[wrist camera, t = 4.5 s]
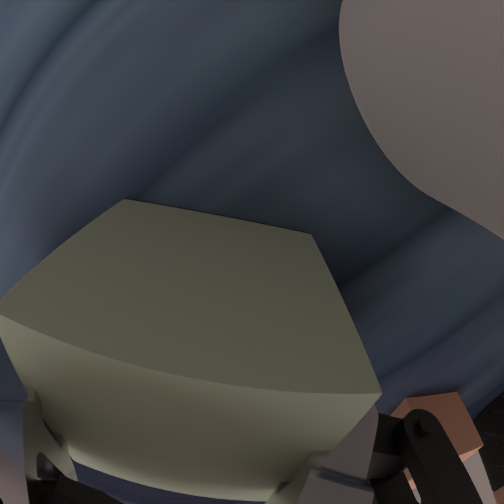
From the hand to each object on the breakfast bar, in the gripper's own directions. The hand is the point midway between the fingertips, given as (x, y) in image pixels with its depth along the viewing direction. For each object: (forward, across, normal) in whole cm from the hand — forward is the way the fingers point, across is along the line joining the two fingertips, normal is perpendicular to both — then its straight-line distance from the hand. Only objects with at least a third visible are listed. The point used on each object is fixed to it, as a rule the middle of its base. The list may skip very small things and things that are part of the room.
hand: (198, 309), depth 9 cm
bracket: (+1, -1, -15) cm, 15 cm away
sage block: (+1, 0, 0) cm, 1 cm away
